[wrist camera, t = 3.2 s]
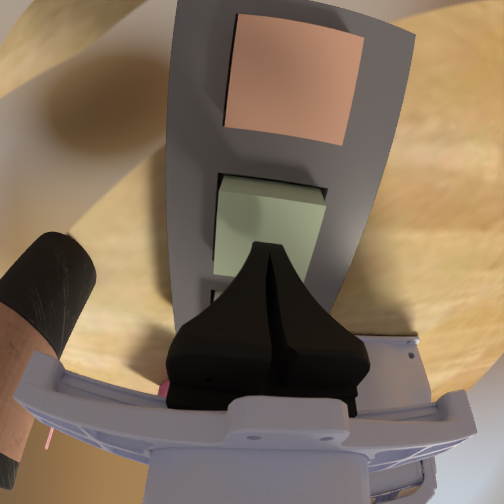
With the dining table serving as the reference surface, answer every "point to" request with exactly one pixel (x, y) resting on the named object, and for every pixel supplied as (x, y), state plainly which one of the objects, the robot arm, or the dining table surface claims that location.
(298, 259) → the sage button
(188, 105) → the console
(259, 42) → the terracotta button
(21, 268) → the travel mug
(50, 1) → the dining table surface
